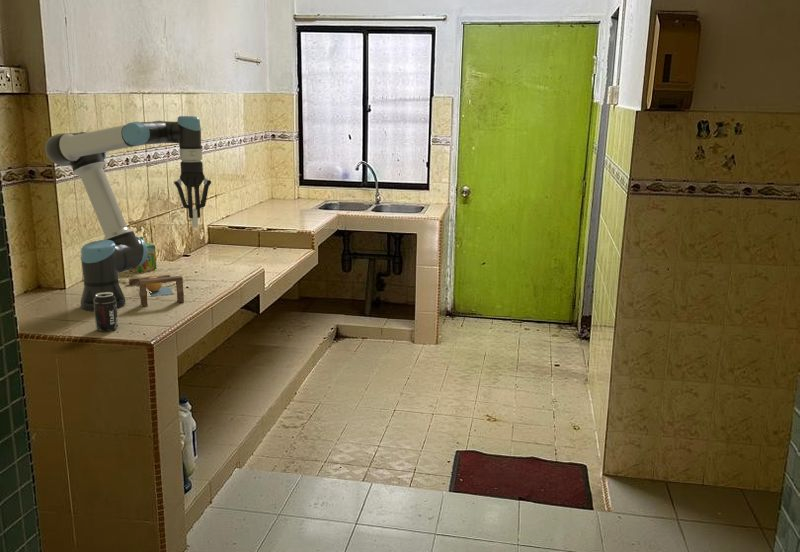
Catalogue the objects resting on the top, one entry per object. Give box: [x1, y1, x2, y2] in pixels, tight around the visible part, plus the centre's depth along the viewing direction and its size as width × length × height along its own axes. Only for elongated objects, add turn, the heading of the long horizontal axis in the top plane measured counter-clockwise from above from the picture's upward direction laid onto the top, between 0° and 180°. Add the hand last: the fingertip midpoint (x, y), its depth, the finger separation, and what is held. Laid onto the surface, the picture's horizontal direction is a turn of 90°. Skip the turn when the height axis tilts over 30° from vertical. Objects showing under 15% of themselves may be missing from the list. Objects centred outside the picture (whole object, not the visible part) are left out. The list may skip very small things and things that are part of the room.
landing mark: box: [137, 286, 175, 297], centre depth 277 cm, size 12×12×1 cm
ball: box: [146, 276, 163, 292], centre depth 277 cm, size 6×6×6 cm
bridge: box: [138, 275, 185, 307], centre depth 260 cm, size 3×15×10 cm, turn 117°
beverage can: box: [93, 292, 119, 332], centre depth 230 cm, size 7×7×12 cm
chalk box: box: [129, 236, 157, 274], centre depth 311 cm, size 9×9×15 cm
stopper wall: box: [128, 274, 171, 286], centre depth 291 cm, size 16×2×2 cm, turn 117°
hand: (195, 227), depth 253 cm, fingers closed
